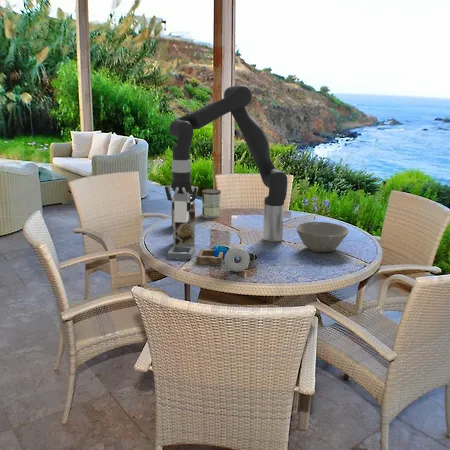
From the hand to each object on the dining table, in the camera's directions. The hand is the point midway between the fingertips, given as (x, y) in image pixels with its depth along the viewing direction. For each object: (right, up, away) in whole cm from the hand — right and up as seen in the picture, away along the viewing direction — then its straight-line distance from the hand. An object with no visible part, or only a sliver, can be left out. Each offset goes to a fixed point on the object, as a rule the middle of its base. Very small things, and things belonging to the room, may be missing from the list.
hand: (181, 210), depth 207 cm
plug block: (0, -4, +1) cm, 4 cm away
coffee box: (-1, -15, +20) cm, 25 cm away
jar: (-3, -7, +48) cm, 49 cm away
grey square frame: (0, -19, +5) cm, 20 cm away
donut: (+23, -25, -12) cm, 35 cm away
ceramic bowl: (+61, -17, +16) cm, 66 cm away
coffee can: (+10, -1, +70) cm, 71 cm away
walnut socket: (+12, -21, 0) cm, 24 cm away
